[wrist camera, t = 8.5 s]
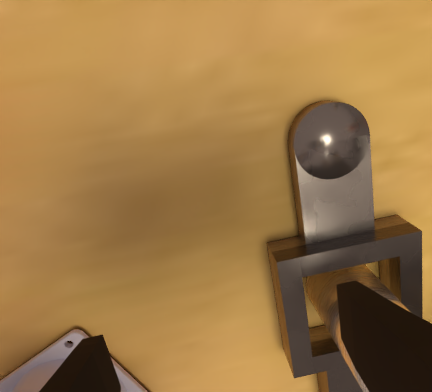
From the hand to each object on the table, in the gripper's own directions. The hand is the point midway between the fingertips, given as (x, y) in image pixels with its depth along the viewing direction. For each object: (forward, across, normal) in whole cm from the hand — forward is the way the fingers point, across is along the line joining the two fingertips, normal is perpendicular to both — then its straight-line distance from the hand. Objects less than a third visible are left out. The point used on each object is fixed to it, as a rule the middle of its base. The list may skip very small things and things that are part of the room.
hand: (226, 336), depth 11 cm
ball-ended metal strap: (+10, -7, +7) cm, 14 cm away
